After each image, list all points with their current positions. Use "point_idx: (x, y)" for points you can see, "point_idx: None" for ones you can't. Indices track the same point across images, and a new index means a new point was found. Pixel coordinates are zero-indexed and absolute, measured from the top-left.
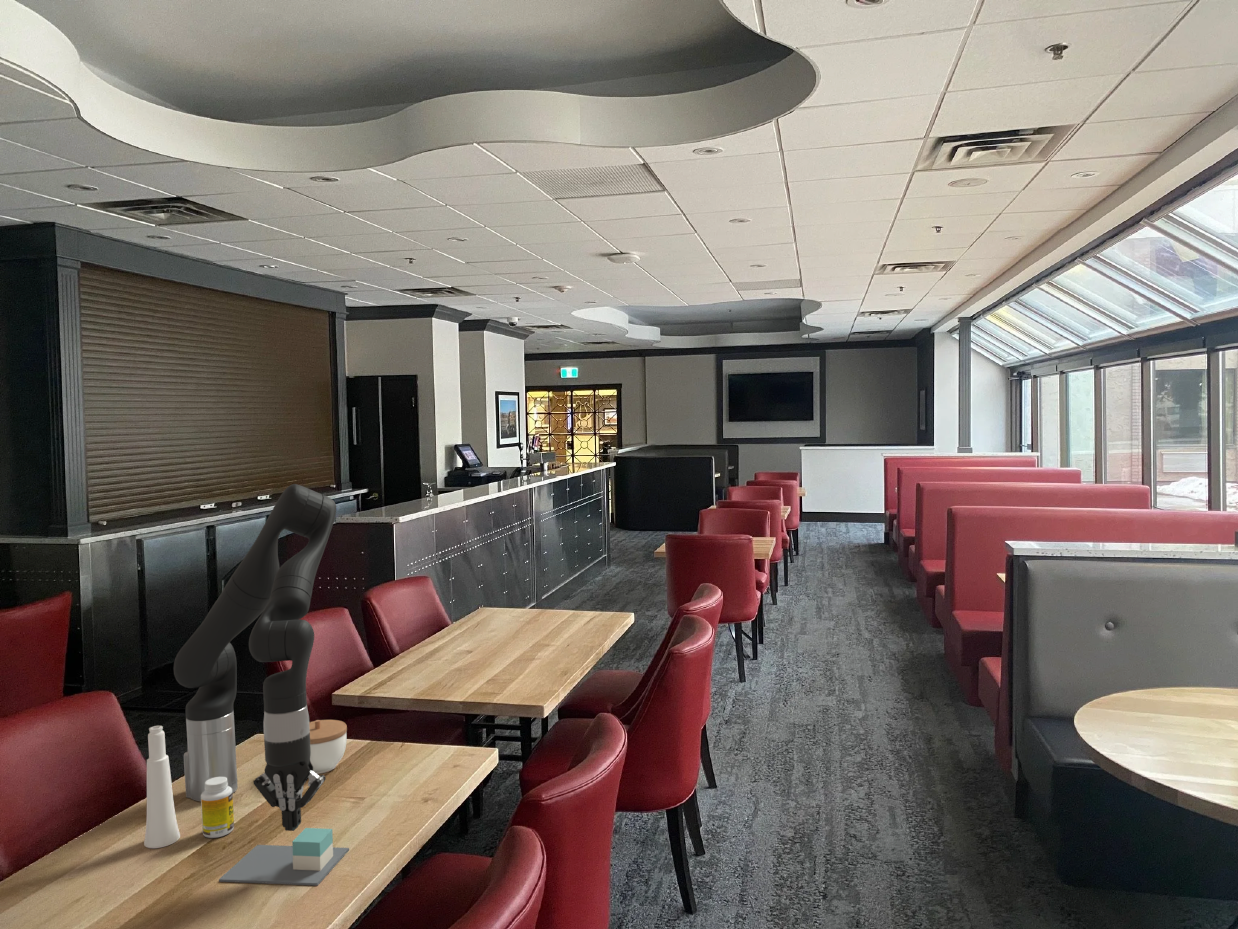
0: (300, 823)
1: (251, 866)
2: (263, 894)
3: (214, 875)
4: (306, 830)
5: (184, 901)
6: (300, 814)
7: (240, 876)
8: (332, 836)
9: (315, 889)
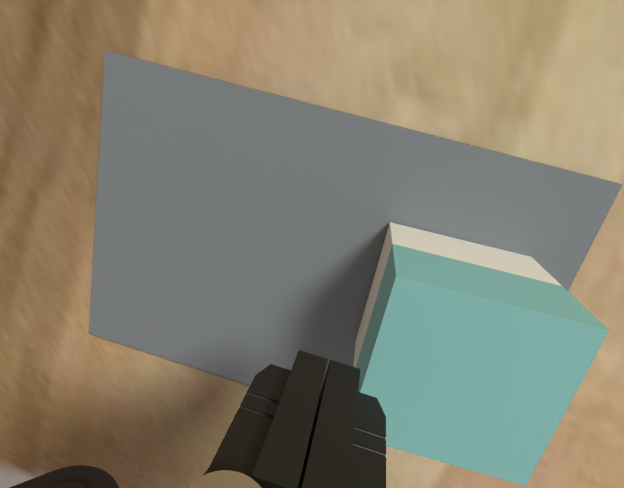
0: (378, 404)
1: (167, 265)
2: None
3: (55, 278)
4: (409, 317)
5: (50, 414)
6: (383, 476)
7: (157, 333)
8: (581, 306)
9: (472, 471)
